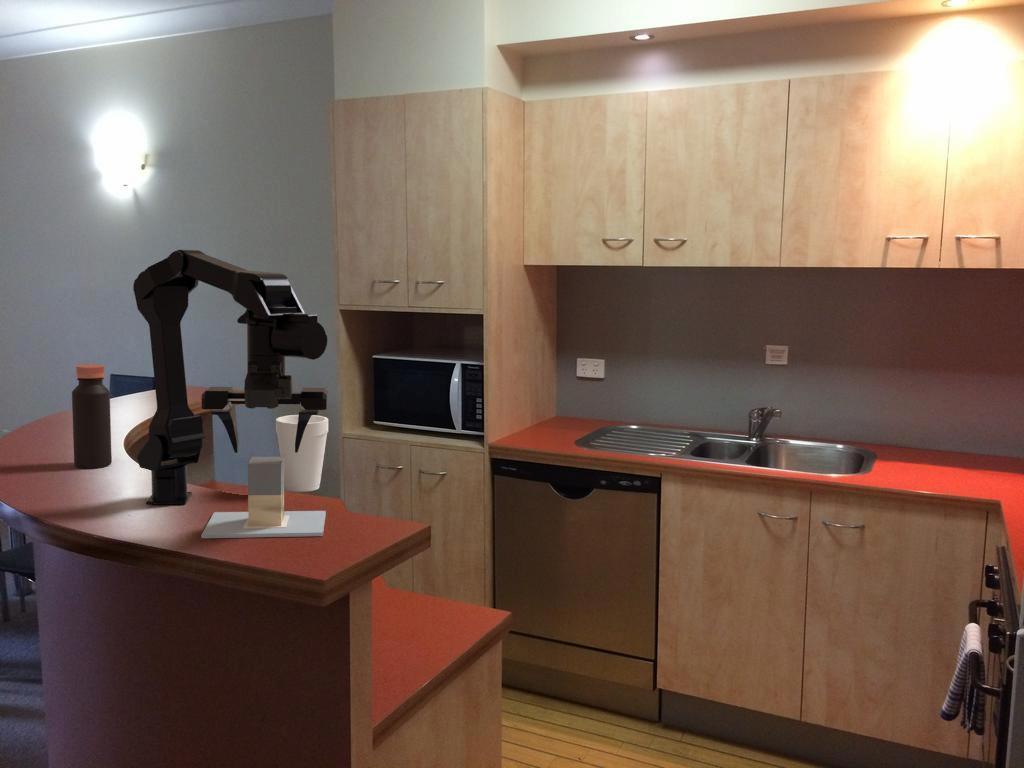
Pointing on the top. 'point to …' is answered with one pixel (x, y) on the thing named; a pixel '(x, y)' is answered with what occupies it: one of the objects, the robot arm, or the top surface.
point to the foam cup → (302, 452)
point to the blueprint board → (291, 526)
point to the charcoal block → (266, 476)
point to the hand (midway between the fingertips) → (266, 452)
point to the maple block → (265, 510)
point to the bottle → (91, 419)
